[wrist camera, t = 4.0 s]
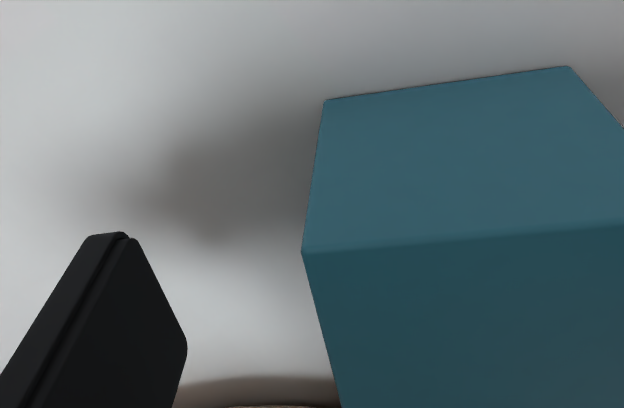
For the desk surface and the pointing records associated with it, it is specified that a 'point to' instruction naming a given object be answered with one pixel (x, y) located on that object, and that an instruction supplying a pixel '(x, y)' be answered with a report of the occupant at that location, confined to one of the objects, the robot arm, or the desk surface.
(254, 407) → the planter
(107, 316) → the robot arm
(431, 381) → the block
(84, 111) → the desk surface
